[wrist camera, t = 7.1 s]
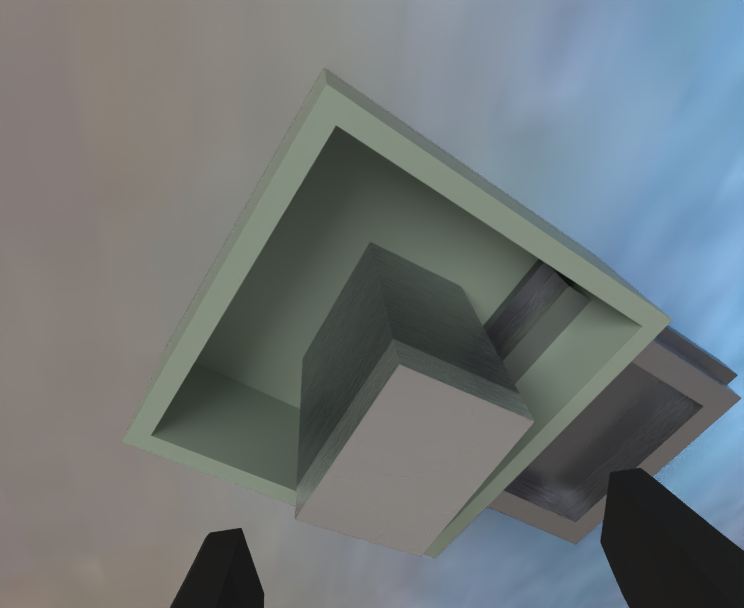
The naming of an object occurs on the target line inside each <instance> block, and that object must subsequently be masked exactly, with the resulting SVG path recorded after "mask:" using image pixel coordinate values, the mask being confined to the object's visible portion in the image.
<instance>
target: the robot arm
mask: <svg viewBox="0 0 744 608" xmlns="http://www.w3.org/2000/svg"><path fill="white" fill-rule="evenodd" d="M600 542H601V545H602V547H603V550H604V552H605V554H606V557H607V559H608V562H609V564H610V567H611V569H612V571H613V574H614V576H615V578H616V581H617V583H618V585H619V587H620V590H621V592H622V594H623V596H624V598H625V600H626V602H627V604H628V606H629V608H744V551H743V550H742V549H741V548H739V547H738V546H737V545H736V544H734V543H733V542H732V541H730V540H729V539H728V538H727V537H725V536H724V535H723V534H722V533H720V532H719V531H718V530H717V529H715V528H714V527H713V526H712V525H710V524H709V523H708V522H707V521H706V520H704V519H703V518H702V517H701V516H699V515H698V514H697V513H696V512H694V511H693V510H692V509H691V508H690V507H688V506H687V505H686V504H685V503H683V502H682V501H681V500H680V499H679V498H677V497H676V496H675V495H674V494H673V493H671V492H670V491H669V490H668V489H667V488H665V487H664V486H663V485H662V484H660V483H659V482H658V481H657V480H656V479H654V478H653V477H652V476H651V475H649V474H648V473H647V472H646V471H644V470H643V469H642V468H634V469H628V470H621V471H614V472H610V475H609V483H608V490H607V497H606V505H605V512H604V519H603V527H602V534H601V541H600ZM170 608H264V592H263V589H262V586H261V583H260V580H259V577H258V575H257V572H256V569H255V566H254V563H253V560H252V557H251V554H250V551H249V548H248V546H247V543H246V540H245V537H244V534H243V531H242V528H237V529H231V530H224V531H218V532H211V533H209V534H208V535H207V537H206V538H205V540H204V542H203V544H202V546H201V548H200V550H199V552H198V554H197V556H196V558H195V560H194V562H193V564H192V566H191V568H190V570H189V572H188V574H187V576H186V578H185V580H184V582H183V584H182V586H181V588H180V590H179V591H178V593H177V595H176V597H175V599H174V601H173V603H172V605H171V607H170Z"/></svg>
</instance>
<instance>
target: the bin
mask: <svg viewBox="0 0 744 608" xmlns="http://www.w3.org/2000/svg"><path fill="white" fill-rule="evenodd" d="M370 242H372V243H374V244H376V245H378V246H380V247H382V248H384V249H386V250H388V251H390V252H392V253H394V254H396V255H398V256H400V257H402V258H405V259H407V260H409V261H411V262H413V263H415V264H417V265H419V266H421V267H423V268H425V269H427V270H429V271H431V272H433V273H435V274H437V275H439V276H441V277H443V278H445V279H447V280H449V281H451V282H453V283H455V284H457V285H459V286H461V287H462V289H463V290H464V292H465V294H466V296H467V298H468V300H469V301H470V303H471V305H472V307H473V309H474V311H475V313H476V314H477V316H478V318H479V320H480V322H481V324H482V325H484V324H485V323H486V322H487V320H488V319H489V318H490V317H491V316H492V314H493V313H494V312H495V311H496V310H497V308H498V307H499V306H500V305H501V304H502V302H503V301H504V300H505V299H506V298H507V296H508V295H509V294H510V293H511V291H512V290H513V289H514V288H515V287H516V285H517V284H518V283H519V282H520V281H521V279H522V278H523V277H524V276H525V275H526V273H527V272H528V271H529V270H530V269H531V267H532V266H533V265H534V264H535V263H536V261H537V260H538V259H541V260H542V261H544V262H545V263H547V264H548V265H550V266H551V267H553V268H554V269H556V270H557V271H559V272H560V273H562V274H563V275H565V276H567V277H568V278H570V279H571V280H573V281H574V282H576V284H575V285H576V286H577V287H578V288H579V289H580V290H581V291H582V292H583V293H584V294H585V295H586V296H587V297H588V298H589V299H590V300H591V301H590V302H589V303H588V304H587V306H586V307H585V308H584V309H583V310H582V311H581V312H580V313H579V314H578V315H577V317H576V318H575V319H574V320H573V321H572V322H571V323H570V324H569V325H568V326H567V328H566V329H565V330H564V331H563V332H562V333H561V334H560V335H559V336H558V337H557V339H556V340H555V341H554V342H553V343H552V344H551V345H550V346H549V347H548V348H547V350H546V351H545V352H544V353H543V354H542V355H541V356H540V357H539V358H538V360H537V361H536V362H535V363H534V364H533V365H532V366H531V367H530V368H529V369H528V371H527V372H526V373H525V374H524V375H523V376H522V377H521V378H520V379H519V380H518V382H517V383H516V384H515V386H516V388H517V390H518V391H519V393H520V395H521V397H522V399H523V401H524V403H525V404H526V406H527V408H528V410H529V412H530V414H531V415H532V417H533V419H534V421H535V422H534V423H533V424H532V425H531V427H530V428H529V429H528V430H527V431H526V432H525V434H524V435H523V436H522V437H521V438H520V440H519V441H518V442H517V443H516V444H515V446H514V447H513V448H512V449H511V450H510V451H509V453H508V454H507V455H506V456H505V457H504V459H503V460H502V461H501V462H500V463H499V464H498V466H497V467H496V468H495V469H494V470H493V472H492V473H491V474H490V475H489V476H488V477H487V479H486V480H485V481H484V482H483V483H482V485H481V486H480V487H479V488H478V489H477V490H476V492H475V493H474V494H473V495H472V496H471V498H470V499H469V500H468V501H467V502H466V503H465V505H464V506H463V507H462V508H461V509H460V511H459V512H458V513H457V514H456V515H455V516H454V518H453V519H452V520H451V521H450V522H449V524H448V525H447V526H446V527H445V528H444V529H443V531H442V532H441V533H440V534H439V535H438V537H437V538H436V539H435V540H434V541H433V542H432V544H431V545H430V546H429V547H428V548H427V550H426V551H425V552H424V553H423V554H424V555H427V556H430V557H432V558H436V557H437V556H438V555H439V554H440V553H441V552H442V551H443V550H444V549H445V548H446V547H447V546H448V545H449V544H450V543H451V542H452V541H453V540H454V539H455V538H456V537H457V536H458V535H459V534H460V533H461V532H462V531H463V530H464V529H465V528H466V527H467V526H468V525H469V524H470V523H471V522H472V521H473V520H474V519H475V518H476V517H477V516H478V515H479V514H480V513H481V512H482V511H483V510H484V509H485V508H486V507H487V506H488V505H489V504H490V503H491V502H492V501H493V500H494V499H495V498H496V497H497V496H498V495H499V494H500V493H501V492H502V491H503V490H504V489H505V488H506V487H507V486H508V485H509V484H510V483H511V482H512V481H513V480H514V479H515V478H516V477H517V476H518V475H519V474H520V473H521V472H522V471H523V470H524V469H525V468H526V467H527V466H528V465H529V464H530V463H531V462H532V461H533V460H534V459H535V458H536V457H537V456H538V455H539V454H540V453H541V452H542V451H543V450H544V449H545V448H546V447H547V446H548V445H549V444H550V443H551V442H552V441H553V440H554V439H555V438H556V437H557V436H558V435H559V434H560V433H561V432H562V431H563V430H564V429H565V428H566V427H567V426H568V425H569V424H570V423H571V422H572V421H573V420H574V419H575V418H576V417H577V416H578V415H579V414H580V413H581V412H582V411H583V410H584V409H585V408H586V407H587V406H588V405H589V404H590V403H591V401H592V400H593V399H594V398H595V397H596V396H597V395H598V394H599V393H600V392H601V391H602V390H603V389H604V388H605V387H606V386H607V385H608V384H609V383H610V382H611V381H612V380H613V379H614V378H615V377H616V376H617V375H618V374H619V373H620V372H621V371H622V370H623V369H624V368H625V367H626V366H627V365H628V364H629V363H630V362H631V361H632V360H633V359H634V358H635V357H636V356H637V355H638V354H639V353H640V352H641V351H642V350H643V349H644V348H645V347H646V346H647V345H648V344H649V343H650V342H651V341H652V340H653V339H654V338H655V337H656V336H657V335H658V334H659V333H660V332H661V331H662V330H663V329H664V328H665V327H666V326H667V325H668V324H669V323H670V322H671V321H672V319H671V318H670V317H669V316H667V315H666V314H665V313H664V312H663V311H661V310H660V309H659V308H658V307H657V306H655V305H654V304H653V303H652V302H651V301H650V300H648V299H647V298H646V297H645V296H644V295H642V294H641V293H640V292H639V291H638V290H636V289H635V288H634V287H633V286H632V285H630V284H629V283H628V282H627V281H626V280H624V279H623V278H622V277H621V276H620V275H618V274H617V273H616V272H615V271H614V270H612V269H611V268H610V267H609V266H608V265H606V264H605V263H604V262H603V261H602V260H600V259H599V258H598V257H597V256H596V255H594V254H593V253H591V252H590V251H588V250H587V249H585V248H584V247H583V246H581V245H580V244H578V243H577V242H575V241H574V240H572V239H571V238H570V237H568V236H567V235H565V234H564V233H562V232H561V231H559V230H558V229H557V228H555V227H554V226H552V225H551V224H549V223H548V222H546V221H545V220H544V219H542V218H541V217H539V216H538V215H536V214H535V213H533V212H532V211H531V210H529V209H528V208H526V207H525V206H523V205H522V204H520V203H519V202H518V201H516V200H515V199H513V198H512V197H510V196H509V195H507V194H506V193H505V192H503V191H502V190H500V189H499V188H497V187H496V186H494V185H493V184H492V183H490V182H489V181H487V180H486V179H484V178H483V177H481V176H480V175H479V174H477V173H476V172H474V171H473V170H471V169H470V168H468V167H467V166H466V165H464V164H463V163H461V162H460V161H458V160H457V159H455V158H454V157H453V156H451V155H450V154H448V153H447V152H445V151H444V150H442V149H441V148H440V147H438V146H437V145H435V144H434V143H432V142H431V141H429V140H428V139H427V138H425V137H424V136H422V135H421V134H419V133H418V132H416V131H415V130H414V129H412V128H411V127H409V126H408V125H406V124H405V123H403V122H402V121H401V120H399V119H398V118H396V117H395V116H393V115H392V114H390V113H389V112H388V111H386V110H385V109H383V108H382V107H380V106H379V105H377V104H376V103H375V102H373V101H372V100H370V99H369V98H367V97H366V96H364V95H363V94H362V93H360V92H359V91H357V90H356V89H354V88H353V87H351V86H350V85H349V84H347V83H346V82H344V81H343V80H341V79H340V78H338V77H337V76H336V75H334V74H333V73H331V72H330V71H328V70H327V69H325V68H324V69H323V71H322V73H321V75H320V77H319V78H318V80H317V82H316V84H315V85H314V87H313V89H312V91H311V93H310V94H309V96H308V98H307V100H306V101H305V103H304V105H303V107H302V108H301V110H300V112H299V114H298V116H297V117H296V119H295V121H294V123H293V124H292V126H291V128H290V130H289V132H288V133H287V135H286V137H285V139H284V140H283V142H282V144H281V146H280V147H279V149H278V151H277V153H276V155H275V156H274V158H273V160H272V162H271V163H270V165H269V167H268V169H267V171H266V172H265V174H264V176H263V178H262V179H261V181H260V183H259V185H258V186H257V188H256V190H255V192H254V194H253V195H252V197H251V199H250V201H249V202H248V204H247V206H246V208H245V210H244V211H243V213H242V215H241V217H240V218H239V220H238V222H237V224H236V226H235V227H234V229H233V231H232V233H231V234H230V236H229V238H228V240H227V241H226V243H225V245H224V247H223V249H222V250H221V252H220V254H219V256H218V257H217V259H216V261H215V263H214V265H213V266H212V268H211V270H210V272H209V273H208V275H207V277H206V279H205V280H204V282H203V284H202V286H201V288H200V289H199V291H198V293H197V295H196V296H195V298H194V300H193V302H192V304H191V305H190V307H189V309H188V311H187V312H186V314H185V316H184V318H183V319H182V321H181V323H180V325H179V327H178V328H177V330H176V332H175V334H174V335H173V337H172V339H171V341H170V343H169V344H168V346H167V348H166V350H165V351H164V353H163V355H162V357H161V360H160V362H159V364H158V366H157V368H156V370H155V372H154V375H153V377H152V379H151V381H150V383H149V385H148V387H147V389H146V392H145V394H144V396H143V398H142V400H141V402H140V404H139V406H138V409H137V411H136V413H135V415H134V417H133V419H132V421H131V424H130V426H129V428H128V430H127V432H126V434H125V436H124V438H123V441H122V442H123V443H126V444H128V445H131V446H134V447H137V448H139V449H142V450H145V451H147V452H150V453H153V454H155V455H158V456H161V457H163V458H166V459H169V460H172V461H174V462H177V463H180V464H182V465H185V466H188V467H190V468H193V469H196V470H198V471H201V472H204V473H206V474H209V475H212V476H215V477H217V478H220V479H223V480H225V481H228V482H231V483H233V484H236V485H239V486H241V487H244V488H247V489H250V490H252V491H255V492H258V493H260V494H263V495H266V496H268V497H271V498H274V499H276V500H279V501H282V502H284V503H287V504H290V505H293V506H295V507H296V488H297V466H298V445H299V424H300V402H301V381H302V359H303V356H304V355H305V353H306V351H307V350H308V348H309V346H310V344H311V343H312V341H313V339H314V337H315V336H316V334H317V332H318V331H319V329H320V327H321V325H322V324H323V322H324V320H325V318H326V317H327V315H328V313H329V312H330V310H331V308H332V306H333V305H334V303H335V301H336V300H337V298H338V296H339V294H340V293H341V291H342V289H343V287H344V286H345V284H346V282H347V281H348V279H349V277H350V275H351V274H352V272H353V270H354V268H355V267H356V265H357V263H358V262H359V260H360V258H361V256H362V255H363V253H364V251H365V249H366V248H367V246H368V244H369V243H370Z"/></svg>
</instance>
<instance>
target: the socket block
mask: <svg viewBox="0 0 744 608" xmlns="http://www.w3.org/2000/svg"><path fill="white" fill-rule="evenodd" d="M575 284H576V282H574V281H573V280H571V279H570V278H568V277H567V276H565V275H563V274H562V273H560V272H559V271H557V270H556V269H554V268H553V267H551V266H550V265H548V264H547V263H545V262H544V261H542V260H541V259H538V260H537V261H536V263H535V264H534V265H533V266H532V267H531V269H530V270H529V271H528V272H527V273H526V275H525V276H524V277H523V278H522V279H521V281H520V282H519V283H518V284H517V285H516V287H515V288H514V289H513V290H512V291H511V293H510V294H509V295H508V296H507V298H506V299H505V300H504V301H503V302H502V304H501V305H500V306H499V307H498V308H497V310H496V311H495V312H494V313H493V314H492V316H491V317H490V318H489V319H488V320H487V322H486V323H485V324H484V325H483V327H484V329H485V331H486V333H487V335H488V336H489V338H490V340H491V342H492V344H493V346H494V347H495V349H496V351H497V353H498V355H499V357H500V358H501V360H502V362H503V364H504V366H505V368H506V369H507V371H508V373H509V375H510V377H511V379H512V380H513V382H514V384H516V383H517V382H518V380H519V379H520V378H521V377H522V376H523V375H524V374H525V373H526V372H527V371H528V369H529V368H530V367H531V366H532V365H533V364H534V363H535V362H536V361H537V360H538V358H539V357H540V356H541V355H542V354H543V353H544V352H545V351H546V350H547V348H548V347H549V346H550V345H551V344H552V343H553V342H554V341H555V340H556V339H557V337H558V336H559V335H560V334H561V333H562V332H563V331H564V330H565V329H566V328H567V326H568V325H569V324H570V323H571V322H572V321H573V320H574V319H575V318H576V317H577V315H578V314H579V313H580V312H581V311H582V310H583V309H584V308H585V307H586V306H587V304H588V303H589V302H590V301H591V300H590V299H589V298H588V297H587V296H586V295H585V294H584V293H583V292H582V291H581V290H580V289H579V288H578V287H577V286H576V285H575ZM736 376H737V374H736V373H735V372H733V371H732V370H731V369H730V368H729V367H727V366H726V365H725V364H724V363H723V362H721V361H720V360H719V359H717V358H716V357H714V356H713V355H711V354H710V353H708V352H707V351H705V350H704V349H702V348H701V347H699V346H698V345H696V344H695V343H693V342H692V341H690V340H689V339H687V338H686V337H684V336H683V335H682V334H680V333H679V332H677V331H676V330H674V329H673V328H671V327H670V326H668V325H667V326H666V327H665V328H664V329H663V330H662V331H661V332H660V333H659V334H658V335H657V336H656V337H655V338H654V339H653V340H652V341H651V342H650V343H649V344H648V345H647V346H646V347H645V348H644V349H643V350H642V351H641V352H640V353H639V354H638V355H637V356H636V357H635V358H634V359H633V360H632V361H631V362H630V363H629V364H628V365H627V366H626V367H625V368H624V369H623V370H622V371H621V372H620V373H619V374H618V375H617V376H616V377H615V378H614V379H613V380H612V381H611V382H610V383H609V384H608V385H607V386H606V387H605V388H604V389H603V390H602V391H601V392H600V393H599V394H598V395H597V396H596V397H595V398H594V399H593V400H592V401H591V403H590V404H589V405H588V406H587V407H586V408H585V409H584V410H583V411H582V412H581V413H580V414H579V415H578V416H577V417H576V418H575V419H574V420H573V421H572V422H571V423H570V424H569V425H568V426H567V427H566V428H565V429H564V430H563V431H562V432H561V433H560V434H559V435H558V436H557V437H556V438H555V439H554V440H553V441H552V442H551V443H550V444H549V445H548V446H547V447H546V448H545V449H544V450H543V451H542V452H541V453H540V454H539V455H538V456H537V457H536V458H535V459H534V460H533V461H532V462H531V463H530V464H529V465H528V466H527V467H526V468H525V469H524V470H523V471H522V472H521V473H520V474H519V475H518V476H517V477H516V478H515V479H514V480H513V481H512V482H511V483H510V484H509V485H508V486H507V487H506V488H505V489H504V490H503V491H502V492H501V493H500V494H499V495H498V496H497V497H496V498H495V499H494V500H493V501H492V502H491V503H490V504H489V505H488V507H490V508H492V509H495V510H497V511H499V512H502V513H504V514H506V515H509V516H511V517H513V518H516V519H518V520H520V521H523V522H525V523H527V524H530V525H532V526H534V527H537V528H539V529H541V530H544V531H546V532H548V533H551V534H553V535H555V536H557V537H560V538H562V539H564V540H567V541H569V542H571V543H574V544H577V543H578V542H579V541H580V540H581V539H583V538H584V537H585V536H586V535H587V534H588V533H589V532H590V531H592V530H593V529H594V528H595V527H596V526H597V525H598V524H600V523H601V522H602V521H603V519H604V512H605V505H606V497H607V490H608V483H609V475H610V472H614V471H621V470H628V469H634V468H642V469H643V470H644V471H646V472H647V473H648V474H649V475H651V476H652V477H653V476H654V475H655V474H656V473H657V472H658V471H660V470H661V469H662V468H663V467H664V466H665V465H666V464H668V463H669V462H670V461H671V460H672V459H673V458H674V457H675V456H677V455H678V454H679V453H680V452H681V451H682V450H683V449H685V448H686V447H687V446H688V445H689V444H690V443H691V442H692V441H694V440H695V439H696V438H697V437H698V436H699V435H700V434H702V433H703V432H704V431H705V430H706V429H707V428H708V427H709V426H711V425H712V424H713V423H714V422H715V421H716V420H717V419H719V418H720V417H721V416H722V415H723V414H724V413H725V412H726V411H728V410H729V409H730V408H731V407H732V406H733V405H734V404H736V403H737V402H738V401H739V400H740V399H741V397H740V396H738V395H737V394H736V393H735V392H734V391H733V390H732V389H730V388H729V387H728V386H727V384H728V383H730V382H731V381H732V380H733V379H734V378H735V377H736Z"/></svg>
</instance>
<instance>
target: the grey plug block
mask: <svg viewBox="0 0 744 608" xmlns="http://www.w3.org/2000/svg"><path fill="white" fill-rule="evenodd" d="M534 422H535V421H534V419H533V417H532V415H531V414H530V412H529V410H528V408H527V406H526V404H525V403H524V401H523V399H522V397H521V395H520V393H519V391H518V390H517V388H516V386H515V384H514V382H513V380H512V379H511V377H510V375H509V373H508V371H507V369H506V368H505V366H504V364H503V362H502V360H501V358H500V357H499V355H498V353H497V351H496V349H495V347H494V346H493V344H492V342H491V340H490V338H489V336H488V335H487V333H486V331H485V329H484V327H483V325H482V324H481V322H480V320H479V318H478V316H477V314H476V313H475V311H474V309H473V307H472V305H471V303H470V301H469V300H468V298H467V296H466V294H465V292H464V290H463V289H462V287H461V286H459V285H457V284H455V283H453V282H451V281H449V280H447V279H445V278H443V277H441V276H439V275H437V274H435V273H433V272H431V271H429V270H427V269H425V268H423V267H421V266H419V265H417V264H415V263H413V262H411V261H409V260H407V259H405V258H402V257H400V256H398V255H396V254H394V253H392V252H390V251H388V250H386V249H384V248H382V247H380V246H378V245H376V244H374V243H372V242H370V243H369V244H368V246H367V248H366V249H365V251H364V253H363V255H362V256H361V258H360V260H359V262H358V263H357V265H356V267H355V268H354V270H353V272H352V274H351V275H350V277H349V279H348V281H347V282H346V284H345V286H344V287H343V289H342V291H341V293H340V294H339V296H338V298H337V300H336V301H335V303H334V305H333V306H332V308H331V310H330V312H329V313H328V315H327V317H326V318H325V320H324V322H323V324H322V325H321V327H320V329H319V331H318V332H317V334H316V336H315V337H314V339H313V341H312V343H311V344H310V346H309V348H308V350H307V351H306V353H305V355H304V356H303V359H302V381H301V402H300V424H299V445H298V466H297V488H296V509H295V520H299V521H302V522H306V523H309V524H312V525H316V526H319V527H322V528H326V529H329V530H332V531H336V532H339V533H342V534H346V535H349V536H352V537H356V538H359V539H363V540H366V541H369V542H373V543H376V544H379V545H383V546H386V547H389V548H393V549H396V550H399V551H403V552H406V553H409V554H413V555H416V556H420V557H421V556H422V554H423V553H424V552H425V551H426V550H427V548H428V547H429V546H430V545H431V544H432V542H433V541H434V540H435V539H436V538H437V537H438V535H439V534H440V533H441V532H442V531H443V529H444V528H445V527H446V526H447V525H448V524H449V522H450V521H451V520H452V519H453V518H454V516H455V515H456V514H457V513H458V512H459V511H460V509H461V508H462V507H463V506H464V505H465V503H466V502H467V501H468V500H469V499H470V498H471V496H472V495H473V494H474V493H475V492H476V490H477V489H478V488H479V487H480V486H481V485H482V483H483V482H484V481H485V480H486V479H487V477H488V476H489V475H490V474H491V473H492V472H493V470H494V469H495V468H496V467H497V466H498V464H499V463H500V462H501V461H502V460H503V459H504V457H505V456H506V455H507V454H508V453H509V451H510V450H511V449H512V448H513V447H514V446H515V444H516V443H517V442H518V441H519V440H520V438H521V437H522V436H523V435H524V434H525V432H526V431H527V430H528V429H529V428H530V427H531V425H532V424H533V423H534Z"/></svg>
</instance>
